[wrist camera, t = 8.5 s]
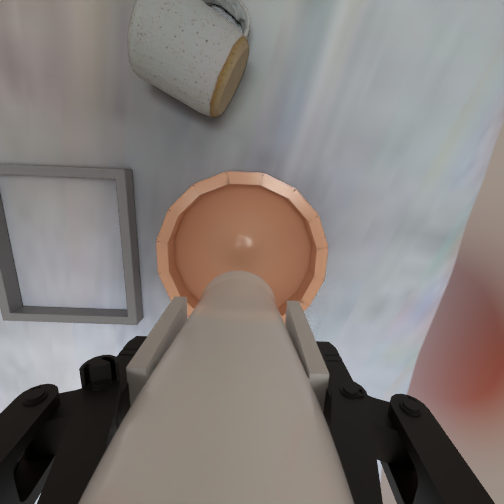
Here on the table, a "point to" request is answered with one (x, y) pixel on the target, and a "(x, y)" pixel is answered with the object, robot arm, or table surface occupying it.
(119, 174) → the tray
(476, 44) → the table surface
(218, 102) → the ceramic mug
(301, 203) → the bowl
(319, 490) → the drinking glass
